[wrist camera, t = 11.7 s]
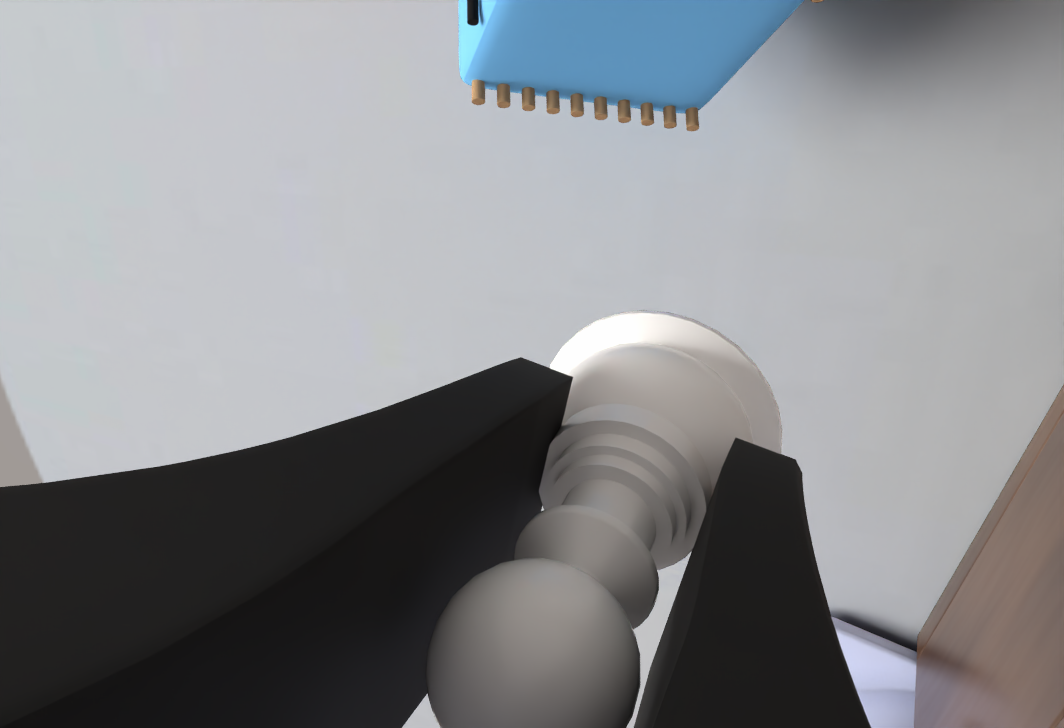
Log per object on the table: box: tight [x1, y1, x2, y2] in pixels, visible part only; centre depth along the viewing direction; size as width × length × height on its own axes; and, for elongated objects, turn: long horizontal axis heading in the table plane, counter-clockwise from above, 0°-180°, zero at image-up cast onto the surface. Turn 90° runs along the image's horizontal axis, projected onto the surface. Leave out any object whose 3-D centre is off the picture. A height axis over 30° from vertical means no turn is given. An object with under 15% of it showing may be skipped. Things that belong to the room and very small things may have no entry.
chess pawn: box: [426, 310, 782, 728], centre depth 9 cm, size 3×3×5 cm
